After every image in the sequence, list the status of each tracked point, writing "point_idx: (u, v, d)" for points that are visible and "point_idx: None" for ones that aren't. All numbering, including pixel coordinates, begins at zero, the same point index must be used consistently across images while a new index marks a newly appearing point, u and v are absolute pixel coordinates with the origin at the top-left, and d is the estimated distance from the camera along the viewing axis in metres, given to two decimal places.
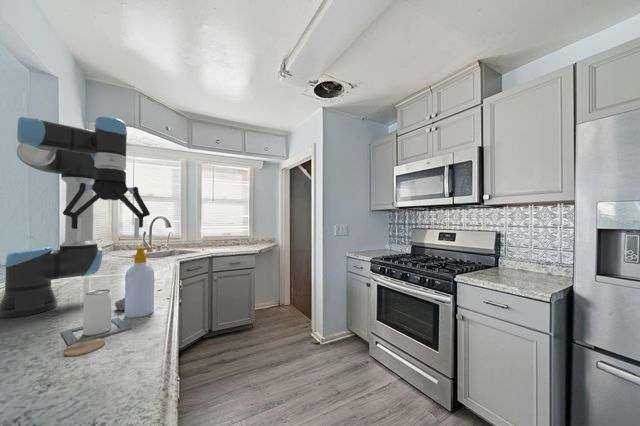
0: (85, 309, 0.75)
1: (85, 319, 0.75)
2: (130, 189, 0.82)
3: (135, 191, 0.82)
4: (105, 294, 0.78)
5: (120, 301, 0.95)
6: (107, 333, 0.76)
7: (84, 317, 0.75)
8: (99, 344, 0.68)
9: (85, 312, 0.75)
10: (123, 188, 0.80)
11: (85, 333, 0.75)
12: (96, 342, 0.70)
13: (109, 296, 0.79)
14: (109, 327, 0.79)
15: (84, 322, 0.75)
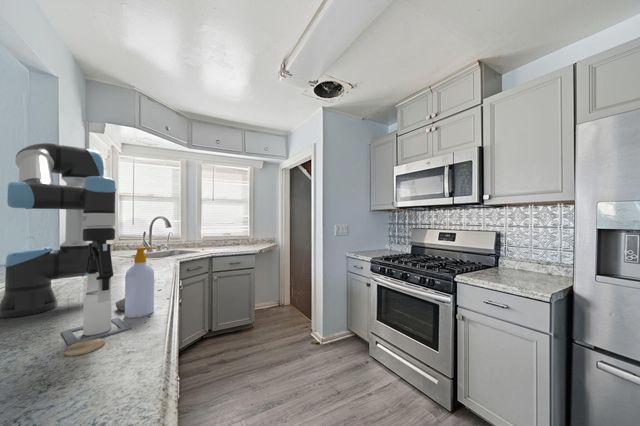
0: (85, 309, 0.75)
1: (85, 319, 0.75)
2: None
3: (99, 249, 0.74)
4: None
5: (121, 301, 0.95)
6: (107, 333, 0.76)
7: (84, 317, 0.75)
8: (99, 344, 0.68)
9: (85, 312, 0.75)
10: (96, 246, 0.76)
11: (85, 333, 0.75)
12: (96, 342, 0.70)
13: None
14: (109, 327, 0.79)
15: (84, 322, 0.75)
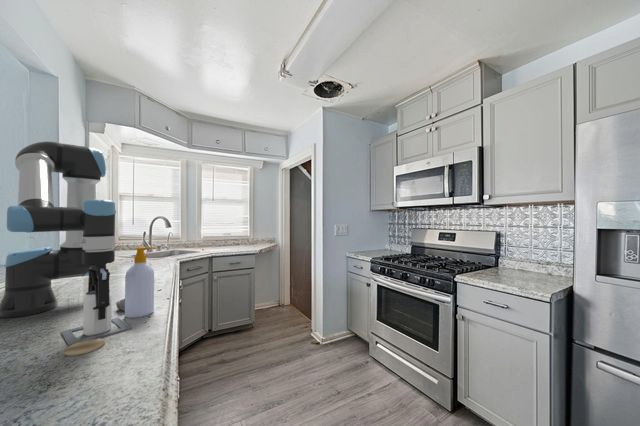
0: (85, 309, 0.75)
1: (85, 319, 0.75)
2: None
3: (98, 278, 0.74)
4: None
5: (122, 301, 0.94)
6: (107, 333, 0.76)
7: (84, 317, 0.75)
8: (99, 344, 0.68)
9: (85, 312, 0.75)
10: (96, 270, 0.76)
11: (85, 333, 0.75)
12: (96, 342, 0.70)
13: (109, 296, 0.79)
14: (109, 327, 0.79)
15: (84, 322, 0.75)
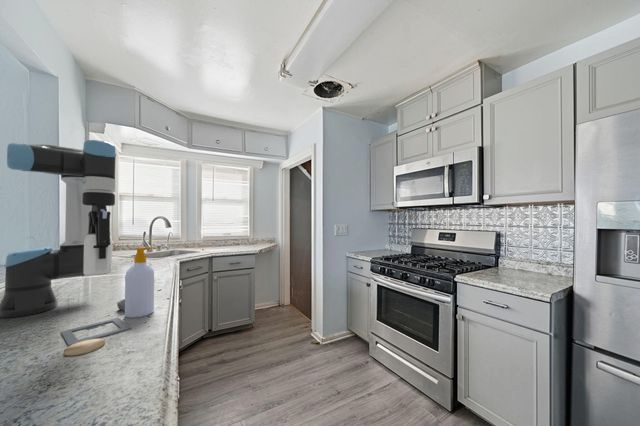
0: (85, 249, 0.75)
1: (85, 258, 0.75)
2: None
3: (98, 216, 0.74)
4: None
5: (123, 301, 0.94)
6: (107, 333, 0.76)
7: (84, 257, 0.75)
8: (99, 344, 0.68)
9: (85, 252, 0.75)
10: (96, 210, 0.75)
11: (85, 272, 0.75)
12: (96, 342, 0.70)
13: None
14: (109, 269, 0.78)
15: (84, 262, 0.75)
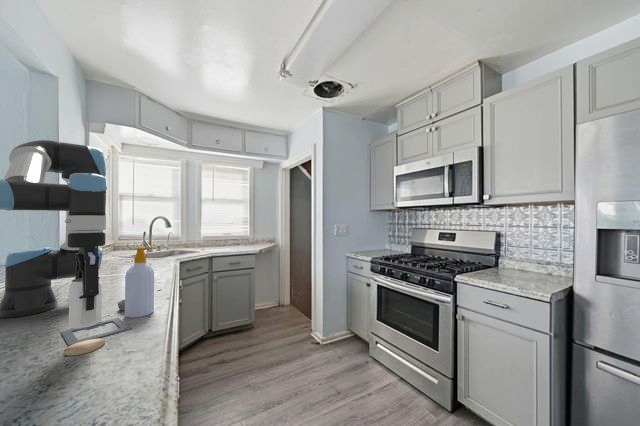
0: (71, 298, 0.65)
1: (71, 310, 0.65)
2: None
3: (85, 262, 0.64)
4: None
5: (124, 301, 0.94)
6: (107, 333, 0.76)
7: (70, 307, 0.65)
8: (99, 344, 0.68)
9: (71, 302, 0.65)
10: (83, 254, 0.66)
11: (70, 325, 0.65)
12: (96, 342, 0.70)
13: (99, 284, 0.69)
14: (99, 319, 0.69)
15: (70, 313, 0.65)
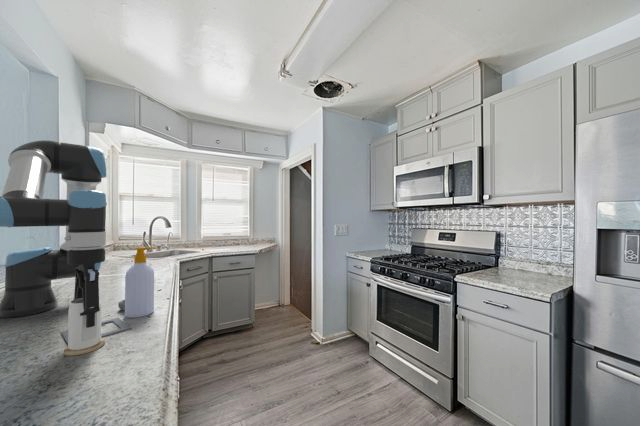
0: (70, 320, 0.65)
1: (70, 331, 0.65)
2: None
3: (85, 278, 0.64)
4: None
5: (124, 301, 0.94)
6: (107, 333, 0.76)
7: (69, 329, 0.65)
8: (99, 344, 0.68)
9: (70, 323, 0.65)
10: (83, 271, 0.66)
11: (70, 347, 0.65)
12: None
13: None
14: (98, 340, 0.69)
15: (69, 335, 0.65)
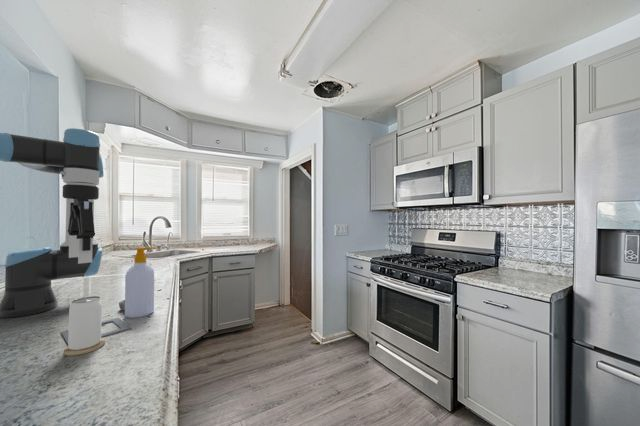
0: (70, 319, 0.65)
1: (70, 331, 0.65)
2: None
3: (79, 207, 0.69)
4: (94, 302, 0.68)
5: None
6: (107, 333, 0.76)
7: (69, 329, 0.65)
8: (99, 344, 0.68)
9: (70, 323, 0.65)
10: (77, 204, 0.71)
11: (70, 347, 0.65)
12: None
13: (99, 304, 0.69)
14: (99, 340, 0.69)
15: (69, 334, 0.65)
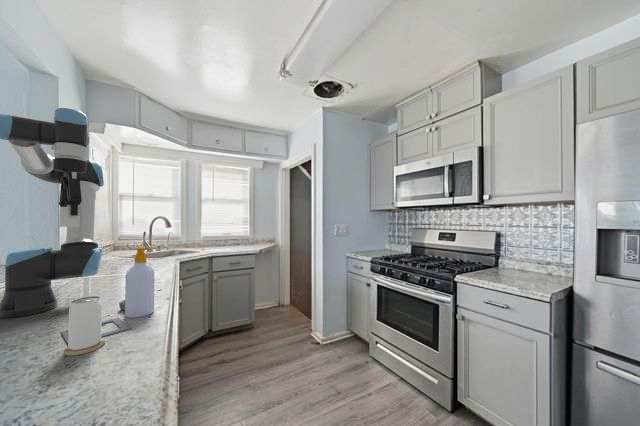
0: (70, 319, 0.65)
1: (70, 331, 0.65)
2: None
3: (68, 176, 0.76)
4: (94, 302, 0.68)
5: None
6: (107, 333, 0.76)
7: (69, 329, 0.65)
8: (99, 344, 0.68)
9: (70, 323, 0.65)
10: (66, 175, 0.78)
11: (70, 347, 0.65)
12: None
13: (99, 304, 0.69)
14: (99, 340, 0.69)
15: (69, 334, 0.65)
